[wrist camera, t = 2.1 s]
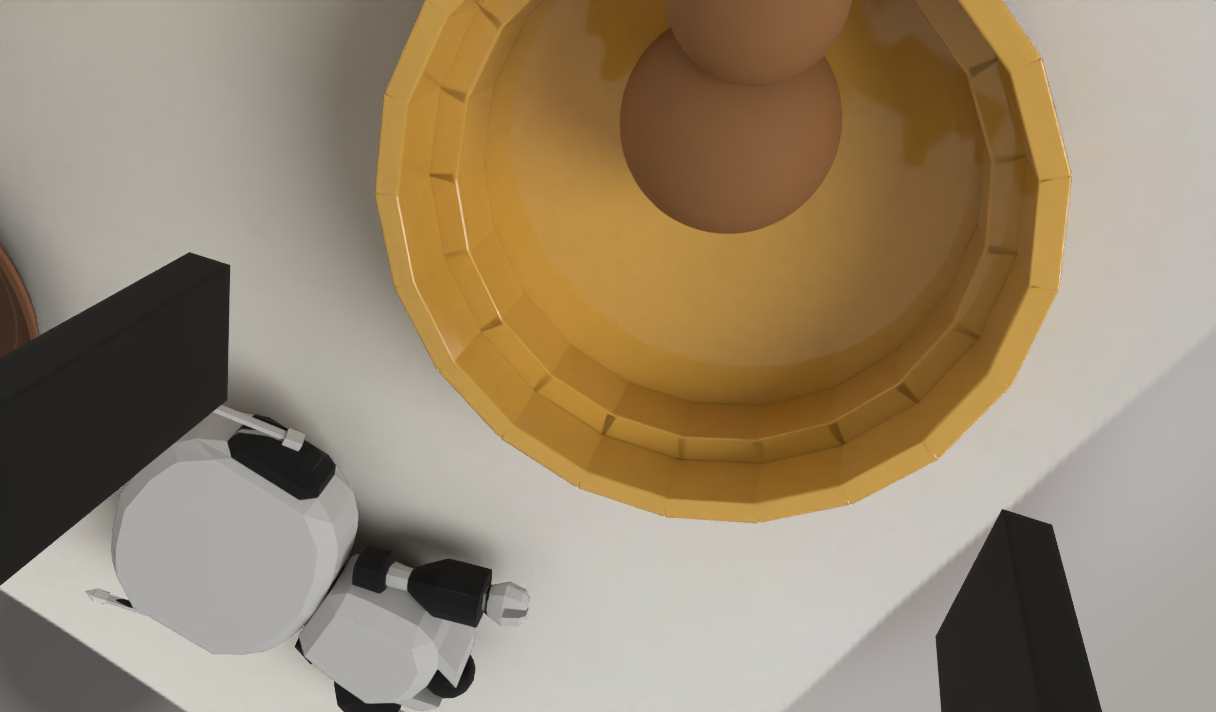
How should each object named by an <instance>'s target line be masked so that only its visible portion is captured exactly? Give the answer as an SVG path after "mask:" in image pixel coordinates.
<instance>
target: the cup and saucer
mask: <svg viewBox="0 0 1216 712" xmlns="http://www.w3.org/2000/svg"><path fill="white" fill-rule="evenodd" d="M38 336H39V330H38V324H37V320H36V316H35V311H34V308H33V305H32V302H31V299H30V296H29V294H28V291H27V289H26V287H25V284H24V282H23V280H22V278H21V276H20V274H19V272H18V270H17V269H16V267H15V265H14V263H13V262H12V260H11V258H10V257H9V255H8V254H7V252H6V251H5V249H4V248H3V246H2V245H1V244H0V357H2V356H4V355H6V354H8V353H9V352H11V351H13V350H15V349H17V348H18V347H20V346H22V345H24V344H26V343H27V342H29V341H31V340H33V339H34V338H36V337H38Z"/></svg>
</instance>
